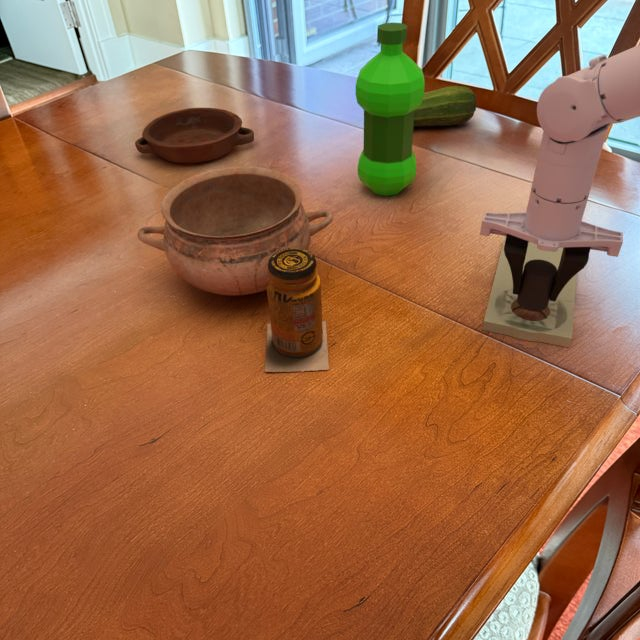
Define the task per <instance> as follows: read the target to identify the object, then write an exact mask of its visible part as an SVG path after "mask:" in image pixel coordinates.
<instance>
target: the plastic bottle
mask: <svg viewBox="0 0 640 640" xmlns="http://www.w3.org/2000/svg"><path fill="white" fill-rule="evenodd" d="M376 36H377V37H376V38H377V39H376V42H377V43H379V44H380V51H379V52H378V53H377V54H376V55H374V56H373V57H372V58H371V59H370V60H368V61H367V63H365V64H364V65H363V66H362V68H360V70H359V73H358V75H357V78H356V82H355V98H356V103H357V104H358V106H360V107H361V108H362V110H363V149H362V151H361V153H360V155H359V158H358V163H357V177H358V178H359V180H360V181H361V182H362V184H363V185H365V186H366V187H367V188H369V189H370V191H372V192H373V193H374V194H376V195H379V196H384V197H388V196H395V195H397V194H398V193H400V192H402V190H403V189H405V188H406V187H408V186H410V185H411V184H412V183H413V182H414V180H415V178H416V177H417V158H416V155H415V152H414V150H413V137H414V127H413V124H414V110H415V109H417V108H418V107H419V106H420V105H421V104H422V100H423V97H424V93H425V90H426V89H425V85H426V84H425V76H424V72H423V69H422V68H421V67H420V66H419V65H418V64H417V63H416V62H415V61H414V60H413V59H412V58H411V57H410V56H408V55H407V53H405V52H404V51H403V45H404V44H405V43H407V40H408V39H407V38H408V37H407V36H408V24H406V23H403V22H384V23H381V24H378V25H377V34H376Z"/></svg>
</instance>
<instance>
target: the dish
mask: <svg viewBox="0 0 640 640" xmlns="http://www.w3.org/2000/svg"><path fill="white" fill-rule="evenodd" d="M242 125H243V120H242V118H241V117H240V116H239V115H238V114H236V113H235V112H232V111H229V110H227V109H222V108H217V107H216V108H215V107H190V108H189V107H188V108H184V109H178V110H175V111H171V112H167V113H165V114H162V115H160V116H158V117H156V118H154V119H152V121H151V120H150V122H149V123H148V124H147V125H146V126H145V127H144V128H143V130H142V133H141V137H139V138H138V139H136V140H135V143H134V145H135V148H136V150H137V151H138V152H139V153H141V154H145V155H147V154H149V155H157V156H159V157H161V158H162V159H163V160H165V161H168V162H172V163H178V164H194V163H196V164H197V163H202V162H207V161H212V160H216V159H219V158H222V157H224V156H225V155H227V154H229V153H231V152H232V151H233V150H234V149H235V148H236V147H238V146H244V145H248V144H251V143H253V142H254V141H255V132H254V130H253V129H251V128H249V127H243V126H242Z"/></svg>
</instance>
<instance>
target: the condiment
mask: <svg viewBox="0 0 640 640" xmlns="http://www.w3.org/2000/svg"><path fill="white" fill-rule="evenodd" d="M268 270H269V272H268V276H269V278H268V280H267V289H266V295H267V302H268V313H269V321H270V323H269V322H268V323H266V342H265V343H266V344H265V345H266V346H265V359H264V360H265V363H264V373H270V372H272V373H284V372H286V373H291V372H292V373H293V372H301V373H304V372H309V371H313V372H314V371H317V372H318V371H326V370H327V371H328V370H330V365H329V349H328V348H329V347H328V334H327V333H328V332H327V320H323V304H322V283H321V277H320V276H319V274H318V269H317V260H316V257H315V255H314V254H313V253H312V252H311V251H309V250H308V251H307V250H304V249H300V248H286V249H283V250H280V251H278V252H276V253H274V254H273V255H272V256H271V258H270V259H269V261H268Z"/></svg>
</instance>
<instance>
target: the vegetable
mask: <svg viewBox="0 0 640 640" xmlns="http://www.w3.org/2000/svg"><path fill="white" fill-rule="evenodd" d="M476 96H477V95H476V94H475V93H474V91H473V90H472V89H471V88H470V87H467V86H462V85H450V86H446V87H443V88H438V89H435V90H431V91H430V90H429V91H427V92H424V97H423V100H422V104H421V105H420V106H419V107H418V108H417V109H415V110H414V124H413V128H423V127H425V128H426V127H427V128H432V127H450V126H457V125H460V124H465V123H467V122H468V121H471V119H472V118H473V117H474V115H475V112H476V110H477V102H478V101H477V97H476Z"/></svg>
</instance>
